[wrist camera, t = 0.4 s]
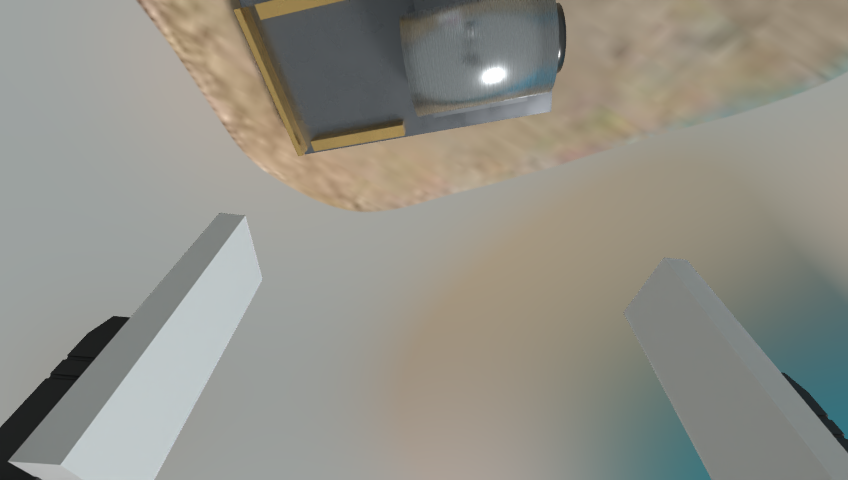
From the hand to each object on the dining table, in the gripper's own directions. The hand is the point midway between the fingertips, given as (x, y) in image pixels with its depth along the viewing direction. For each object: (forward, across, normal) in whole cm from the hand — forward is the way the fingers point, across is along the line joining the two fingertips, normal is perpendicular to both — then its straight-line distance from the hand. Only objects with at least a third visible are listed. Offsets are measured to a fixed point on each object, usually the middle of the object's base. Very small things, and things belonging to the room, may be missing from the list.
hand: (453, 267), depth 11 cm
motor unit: (+25, -3, +1) cm, 26 cm away
